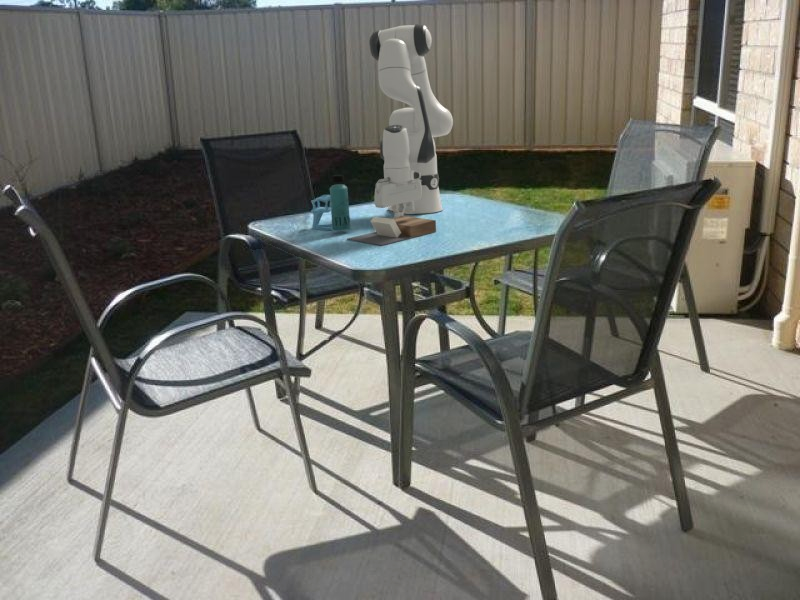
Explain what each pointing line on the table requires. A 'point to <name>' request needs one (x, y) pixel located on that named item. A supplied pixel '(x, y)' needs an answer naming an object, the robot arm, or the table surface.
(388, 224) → the cream tile
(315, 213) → the chair
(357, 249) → the table surface
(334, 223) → the beverage bottle
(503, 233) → the table surface
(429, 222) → the block
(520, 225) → the table surface
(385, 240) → the charcoal mat
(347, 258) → the table surface
